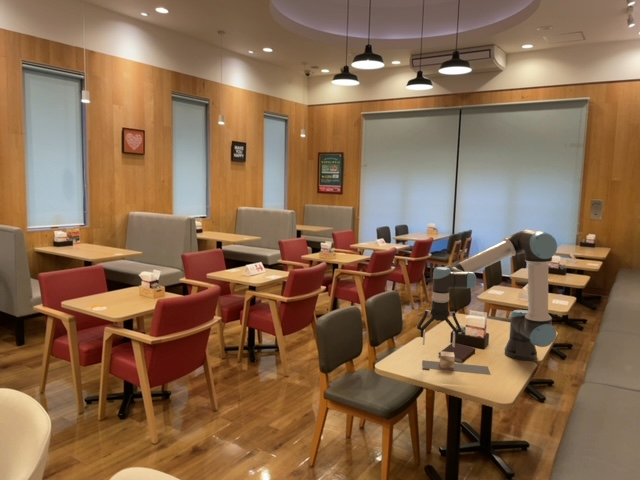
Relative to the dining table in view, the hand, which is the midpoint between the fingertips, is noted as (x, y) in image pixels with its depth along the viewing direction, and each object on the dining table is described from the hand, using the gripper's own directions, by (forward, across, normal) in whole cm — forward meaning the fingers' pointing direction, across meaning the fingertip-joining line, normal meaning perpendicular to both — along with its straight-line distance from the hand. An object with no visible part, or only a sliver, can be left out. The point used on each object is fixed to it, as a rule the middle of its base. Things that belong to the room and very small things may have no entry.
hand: (438, 345), depth 223 cm
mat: (+11, -8, 0) cm, 13 cm away
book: (+11, -10, -18) cm, 24 cm away
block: (+4, -4, 0) cm, 6 cm away
